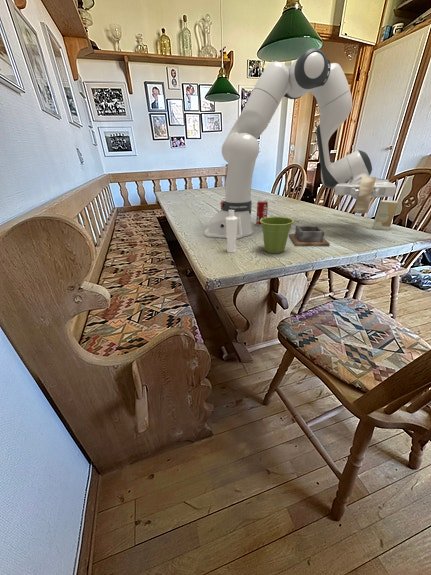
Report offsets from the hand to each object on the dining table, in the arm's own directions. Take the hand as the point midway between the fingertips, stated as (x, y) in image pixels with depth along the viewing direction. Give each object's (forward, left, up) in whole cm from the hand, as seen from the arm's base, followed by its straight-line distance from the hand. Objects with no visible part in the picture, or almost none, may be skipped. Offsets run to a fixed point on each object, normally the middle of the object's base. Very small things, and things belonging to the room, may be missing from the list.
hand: (365, 192), depth 88 cm
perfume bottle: (-48, -9, -19) cm, 52 cm away
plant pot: (-32, -8, -19) cm, 38 cm away
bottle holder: (-17, +3, -19) cm, 25 cm away
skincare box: (+20, +21, -19) cm, 35 cm away
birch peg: (0, +1, -7) cm, 7 cm away
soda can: (-34, +29, -19) cm, 48 cm away
